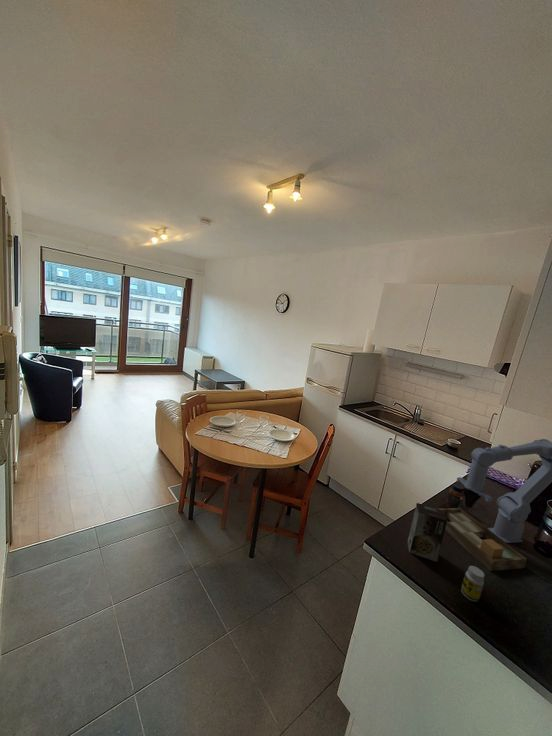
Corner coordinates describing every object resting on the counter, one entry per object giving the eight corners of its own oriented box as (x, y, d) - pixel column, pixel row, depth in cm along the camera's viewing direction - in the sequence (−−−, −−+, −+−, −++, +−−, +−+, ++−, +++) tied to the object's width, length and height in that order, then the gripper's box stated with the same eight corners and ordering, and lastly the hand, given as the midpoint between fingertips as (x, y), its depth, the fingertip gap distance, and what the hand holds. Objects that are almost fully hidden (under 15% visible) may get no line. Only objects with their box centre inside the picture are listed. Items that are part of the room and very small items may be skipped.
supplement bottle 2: (457, 587, 89) (463, 563, 88) (470, 588, 90) (477, 564, 89) (468, 602, 85) (475, 577, 83) (482, 602, 85) (490, 578, 84)
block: (489, 548, 106) (491, 539, 105) (501, 558, 102) (504, 548, 101) (479, 549, 105) (482, 539, 104) (491, 559, 101) (494, 549, 100)
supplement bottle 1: (462, 513, 131) (468, 491, 129) (448, 510, 132) (454, 488, 130) (456, 506, 137) (462, 484, 135) (443, 502, 138) (449, 481, 136)
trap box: (458, 515, 129) (460, 508, 129) (524, 567, 102) (527, 558, 102) (429, 516, 125) (431, 508, 125) (490, 571, 98) (493, 561, 98)
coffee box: (433, 550, 104) (444, 510, 102) (437, 562, 98) (448, 521, 96) (406, 540, 107) (416, 501, 105) (408, 552, 101) (419, 511, 99)
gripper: (454, 467, 124) (446, 496, 126) (485, 487, 110) (476, 518, 112) (467, 468, 126) (459, 496, 128) (499, 487, 112) (490, 518, 114)
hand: (468, 506), depth 120 cm, fingers closed
